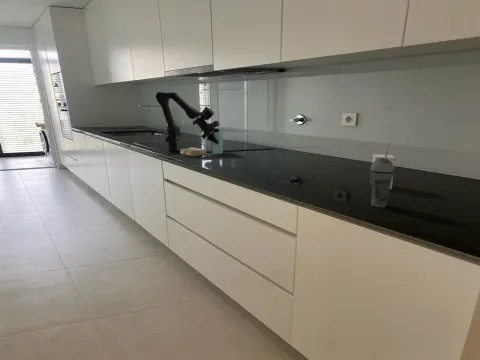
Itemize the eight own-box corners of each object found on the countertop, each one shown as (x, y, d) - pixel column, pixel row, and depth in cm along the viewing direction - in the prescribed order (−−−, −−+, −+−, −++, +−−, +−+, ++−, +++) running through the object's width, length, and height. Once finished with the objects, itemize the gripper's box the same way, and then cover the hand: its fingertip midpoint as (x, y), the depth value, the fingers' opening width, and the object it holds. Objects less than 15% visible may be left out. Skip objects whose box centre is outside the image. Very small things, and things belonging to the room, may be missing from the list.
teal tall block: (212, 153, 214) (212, 133, 211) (215, 152, 219) (215, 132, 216) (220, 153, 213) (220, 133, 210) (222, 152, 217) (222, 132, 214)
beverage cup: (365, 201, 113) (371, 142, 108) (388, 203, 111) (395, 143, 106) (367, 207, 106) (373, 145, 102) (391, 209, 104) (399, 146, 100)
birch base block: (180, 153, 214) (180, 148, 213) (193, 151, 220) (192, 147, 220) (192, 156, 204) (192, 151, 203) (205, 154, 210) (205, 149, 210)
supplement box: (371, 188, 129) (374, 156, 126) (370, 184, 136) (373, 153, 133) (392, 190, 127) (395, 157, 124) (389, 185, 134) (393, 154, 131)
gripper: (205, 117, 203) (222, 135, 202) (217, 115, 220) (232, 133, 219) (194, 129, 207) (211, 148, 206) (206, 127, 224) (221, 144, 223)
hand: (219, 143), depth 214 cm, fingers closed on teal tall block, 5 cm apart
